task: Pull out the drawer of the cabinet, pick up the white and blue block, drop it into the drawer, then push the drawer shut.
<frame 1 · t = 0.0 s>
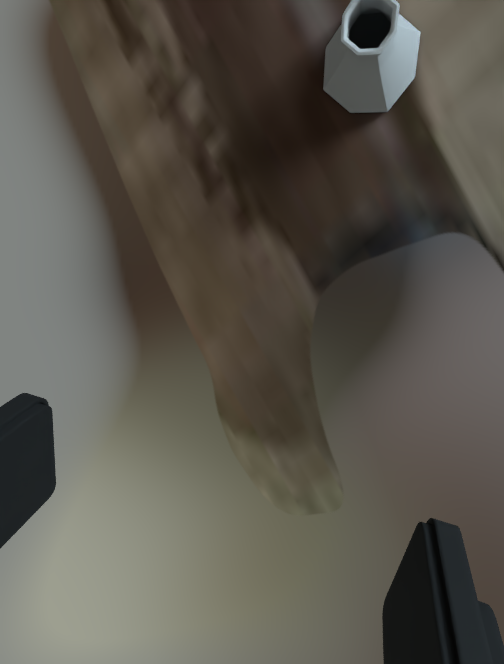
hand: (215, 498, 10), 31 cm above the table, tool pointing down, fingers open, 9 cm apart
flask: (369, 63, 32), on the table
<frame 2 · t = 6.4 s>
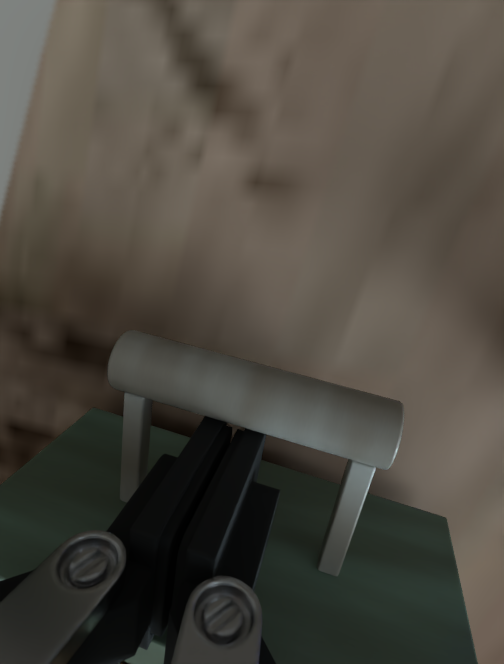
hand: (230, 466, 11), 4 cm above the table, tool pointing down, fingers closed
drawer: (208, 628, 14), point 4 cm above the table, slide at 2.2 cm
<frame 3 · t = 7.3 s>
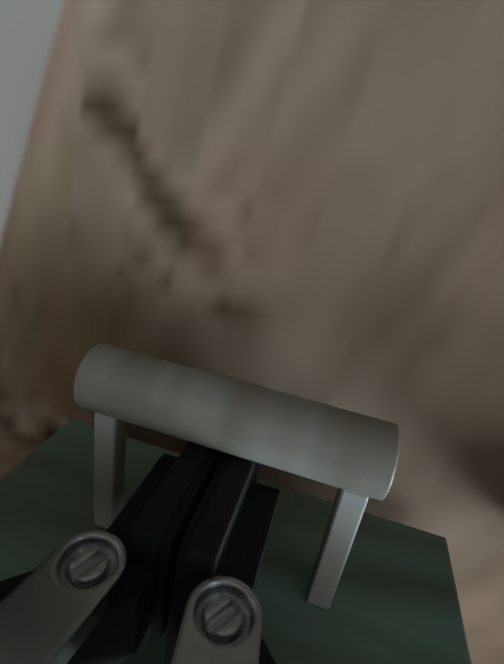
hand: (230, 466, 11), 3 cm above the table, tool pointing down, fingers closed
drawer: (192, 656, 13), point 4 cm above the table, slide at 6.1 cm, touching gripper
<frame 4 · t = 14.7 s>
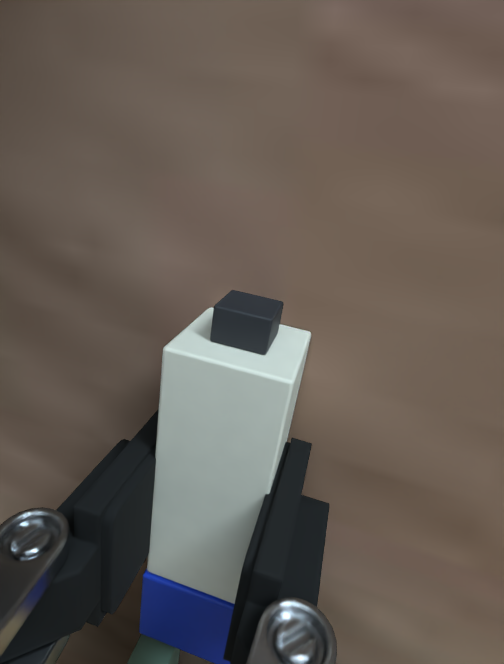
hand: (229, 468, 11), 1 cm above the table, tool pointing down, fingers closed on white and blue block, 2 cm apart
white and blue block: (236, 454, 12), on the table, touching gripper
when the fingers open (6 cm above the table, at t = 20.4 s): white and blue block drops 3 cm, resting on drawer.
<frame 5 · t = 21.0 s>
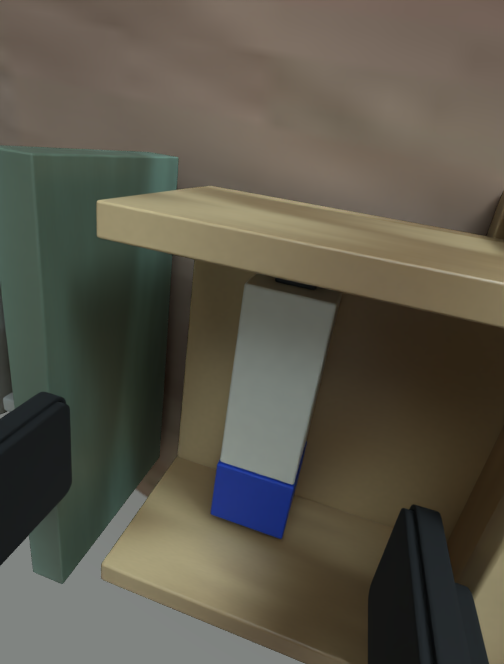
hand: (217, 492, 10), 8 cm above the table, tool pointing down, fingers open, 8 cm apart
white and blue block: (283, 381, 15), point 2 cm above the table, touching drawer
drawer: (213, 393, 13), point 4 cm above the table, slide at 10.5 cm, touching white and blue block
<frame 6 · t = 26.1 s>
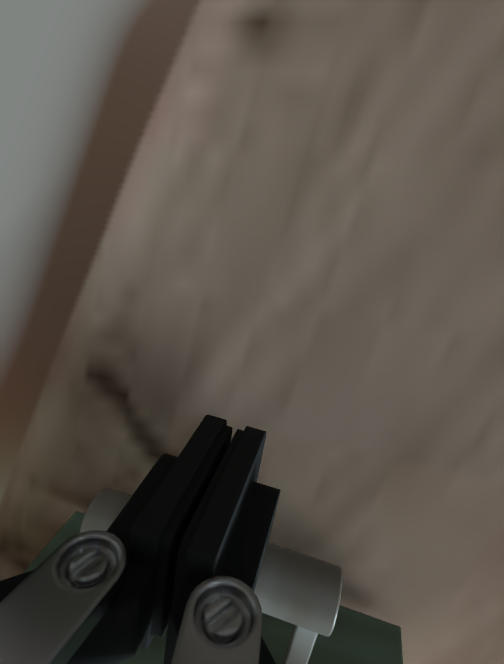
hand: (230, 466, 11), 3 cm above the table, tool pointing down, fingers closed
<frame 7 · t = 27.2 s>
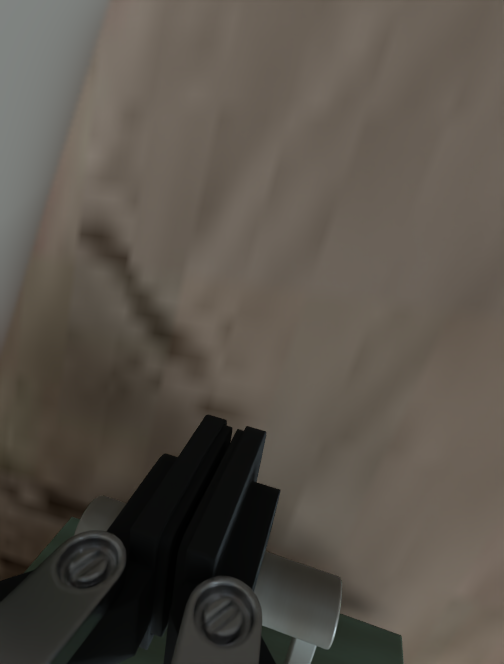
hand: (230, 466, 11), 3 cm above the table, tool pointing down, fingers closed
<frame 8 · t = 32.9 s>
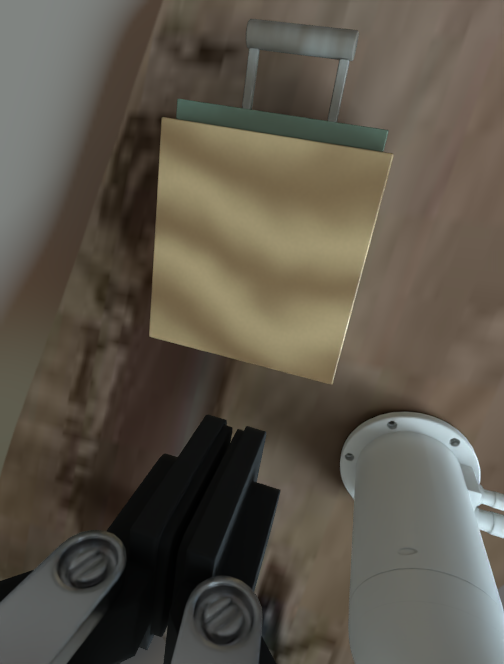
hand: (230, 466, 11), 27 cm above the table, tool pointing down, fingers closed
cabinet: (277, 239, 36), on the table
drawer: (276, 188, 30), point 4 cm above the table, slide at 0.0 cm, touching white and blue block
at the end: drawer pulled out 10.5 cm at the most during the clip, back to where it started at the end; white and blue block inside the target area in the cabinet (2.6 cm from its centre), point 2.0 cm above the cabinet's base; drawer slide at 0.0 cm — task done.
